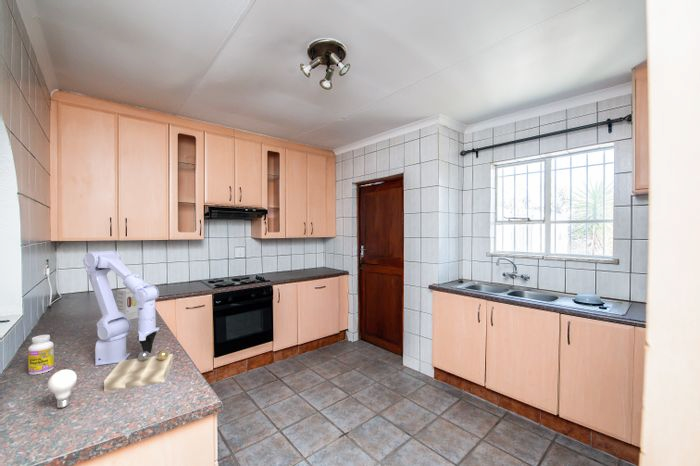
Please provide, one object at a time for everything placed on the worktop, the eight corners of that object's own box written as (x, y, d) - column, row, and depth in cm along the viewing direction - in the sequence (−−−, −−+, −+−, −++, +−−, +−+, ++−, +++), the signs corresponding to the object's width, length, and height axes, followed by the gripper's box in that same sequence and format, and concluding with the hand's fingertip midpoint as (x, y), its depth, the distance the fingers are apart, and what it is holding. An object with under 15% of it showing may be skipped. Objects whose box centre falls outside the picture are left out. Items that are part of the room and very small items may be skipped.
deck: (104, 391, 100) (103, 380, 100) (121, 369, 115) (120, 360, 115) (164, 382, 106) (164, 372, 106) (173, 362, 121) (172, 353, 121)
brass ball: (156, 362, 113) (156, 353, 113) (158, 358, 116) (158, 349, 116) (167, 361, 114) (167, 351, 114) (169, 357, 117) (168, 348, 117)
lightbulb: (61, 401, 94) (60, 365, 94) (83, 400, 95) (82, 365, 94) (42, 414, 88) (41, 376, 88) (65, 413, 88) (65, 375, 88)
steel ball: (136, 363, 112) (136, 353, 112) (139, 359, 116) (139, 350, 115) (148, 361, 114) (147, 352, 113) (150, 357, 117) (150, 348, 117)
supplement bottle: (24, 377, 109) (23, 341, 109) (33, 369, 115) (32, 335, 115) (50, 373, 112) (49, 338, 112) (57, 365, 118) (56, 332, 118)
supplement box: (125, 321, 172) (125, 291, 172) (116, 318, 176) (115, 289, 176) (143, 316, 181) (142, 288, 181) (134, 314, 185) (133, 286, 185)
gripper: (154, 322, 114) (155, 358, 114) (162, 312, 127) (163, 344, 128) (131, 324, 111) (132, 361, 112) (142, 313, 125) (143, 346, 125)
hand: (147, 352), depth 119 cm, fingers closed
